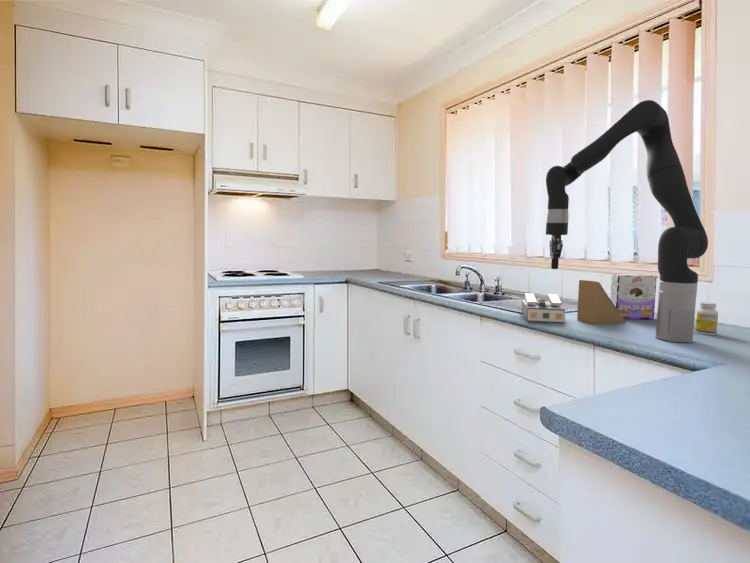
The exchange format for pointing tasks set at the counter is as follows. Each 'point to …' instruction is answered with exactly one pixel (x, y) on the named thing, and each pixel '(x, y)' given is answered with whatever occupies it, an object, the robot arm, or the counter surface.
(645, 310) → the candy box
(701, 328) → the supplement bottle
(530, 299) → the block
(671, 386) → the counter surface
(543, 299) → the rocker middle
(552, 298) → the rocker right
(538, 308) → the switch unit
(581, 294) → the sandwich container
